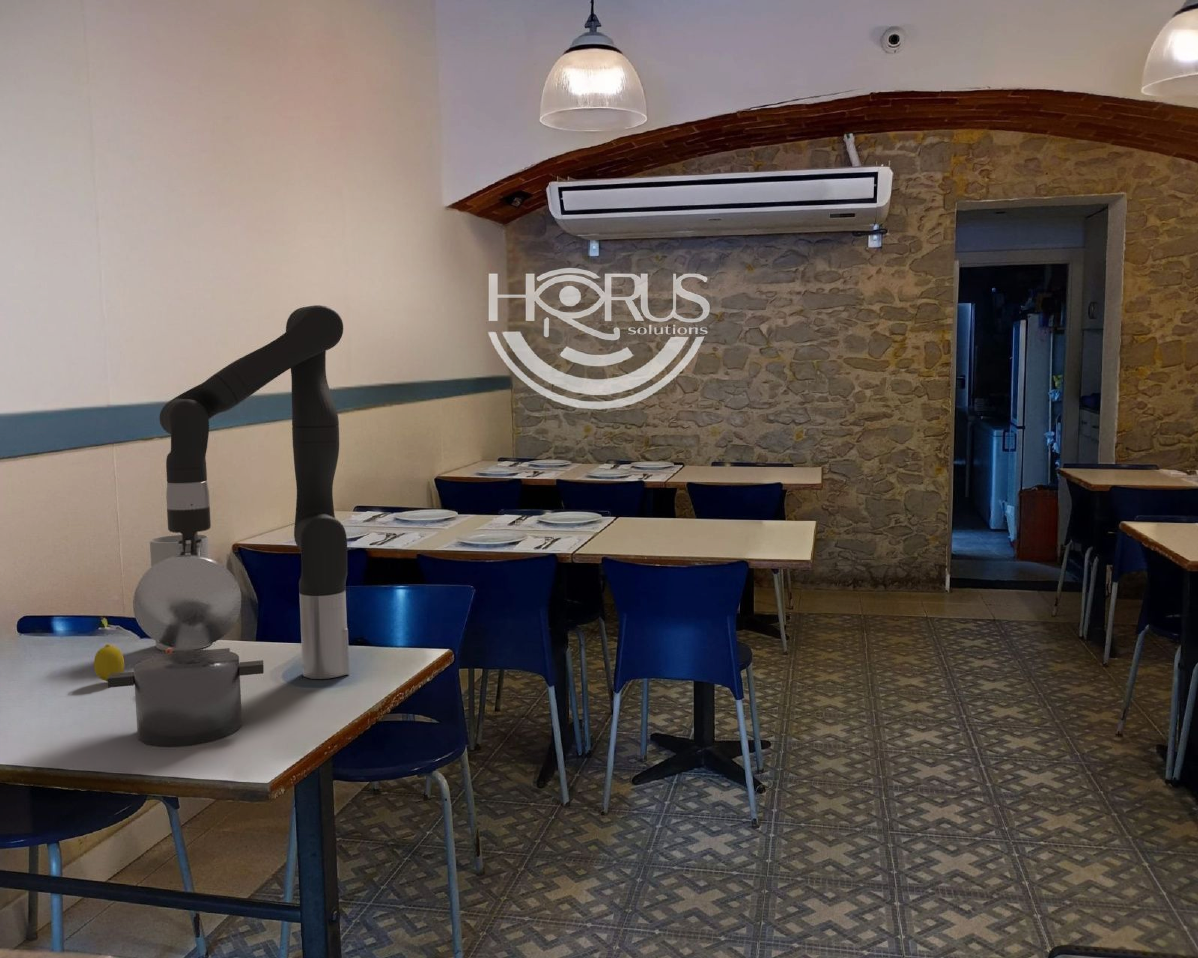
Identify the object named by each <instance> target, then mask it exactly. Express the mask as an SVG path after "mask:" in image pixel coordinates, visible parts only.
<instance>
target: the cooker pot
mask: <svg viewBox="0 0 1198 958" xmlns="http://www.w3.org/2000/svg"><path fill="white" fill-rule="evenodd" d="M230 649H231V648H230V647H226V648H216V649H215V648H214V649H196V650H190V651H181V652H172V653H166V654H164V653H156V654H153V655H152V657H149V658H146V659H144V660H142V661H139V662H137V664H135V665H134V667H133V671H127V672H122V673H113V674H110V675H109V677H108V682H107V688H108V689H110V688H119V687H132V686H134V695H135V712H136V713H135V714H136V715H135V716H136V729H137V731H136V732H137V739H138V741H140V742H141V743H142V744H145V745H148V746H152V747H153V746H154V747H166V748H167V747H168V748H170V747H171V748H172V747H173V748H178V747H188V746H195V745H201V744H206V743H210V742H214V741H218V740H221V739H225V738H226V737H229V736H231V735H233V734H235V733H236V732H238V730H240V729H241V728H242V726H243V715H242V713H243V712H242V711H243V710H242V694H241V693H242V691H241V688H242V687H241V676H252V675H263V674H264V670H265V669H264V667H265V664H264V660H263V659H262V660H253V661H240V656H239V654H237V653H235V652H232V651H231V650H230Z"/></svg>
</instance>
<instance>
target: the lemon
mask: <svg viewBox="0 0 1198 958" xmlns="http://www.w3.org/2000/svg"><path fill="white" fill-rule="evenodd" d="M93 667H94V672H95V674H96V676H97V677H98V678H99V679H101V680H103V681H106V682H107V683H108V677H109V675H110V674H113V673H124V669H125V659H124V655H123V653H122V651H121V650H120V648H118V647H117V646H114V645H111V644H110V643H108V644H106V645H104V646H103V647H101V648H99V650H97V652H96V654H95V656H94V659H93Z"/></svg>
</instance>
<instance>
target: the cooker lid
mask: <svg viewBox="0 0 1198 958" xmlns="http://www.w3.org/2000/svg"><path fill="white" fill-rule="evenodd" d="M241 607H242V593H241V589H240V585H239V583H238V581H237V579H236V577H235V576H234V574H233V573H232V572H231V571H230V570H229V569H228V568H227V567H225V565H224V564H221V563H220V562H218V561H217V560H215V559H212V558H211V557H210V558H207V557H203V556H199V555H179V556H174V557H170V558H167V559H164V560H162V561H160V562H158V563H157V564H155V565H154V566H152V567H150V568H149V569H147V570H146V572H144V573H143V574H142V577H141V578H140V579H139V580H138V583H137V585H136V587H135V591H134V594H133V600H132V608H133V614H134V617H135V620H136V622H137V624H138V626H139V627H140V628H141V630H142V631H143V632H144V633H145V634H146V635H147V636H148V637H150V638H151V639H152V640H154V641H155V642H156V641H157V642H159V643H161V644H163V645H166V646H169V647H174V648H181V649H192V648H199V647H203V646H206V645H209V644H211V645H212V644H213V643H215V642H217V641H219V640H221V639H222V638H223V637H224V636H226V635H227V634H228V633H229V632H230V631H231V630H232V628H233V627H234V626H235V624H236V622H237V621H238V618H239V616H240V613H241ZM209 646H210V645H209Z"/></svg>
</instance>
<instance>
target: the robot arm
mask: <svg viewBox="0 0 1198 958" xmlns="http://www.w3.org/2000/svg"><path fill="white" fill-rule="evenodd" d="M285 324H286V325H285V332H284V333H283V334H281V335H280V336H279V337H277V338H275V339H274V340H272V341H271V342H269V343H267V344H266V345H263V346H261V347H260V348H258V349H255V350H254V351H252V352H250V353H248V354H245V355H244V356H242V357H240V358H238V359H236V360H235V361H232V362H230V363H229V364H228V365H226V366H225V367H223V368H222V369H220V370H218V371H217V372H216V373H214V374H213V375H211V376H210V377H209V378H207V379H206V380H205V381H203V382H202V383H200V384H198V385H195V386H194V387H192V388H190V389H188V390H186V391H184V392H183V393H180V394H178V395H177V396H175V397H173V398H172V399H171V400H169V401H168V402H167V403H165V404H164V405H163V407H162V409H161V410H160V412H159V423H160V426H161V428H162V429H163V430H164V431H165V432H166V433H168V434H170V451H169V452H168V454H167V455H166V460H165V461H166V462H165V467H166V469H165V470H166V497H165V499H166V500H165V501H166V512H167V513H166V515H167V516H166V517H167V530H168V532H170V533H175V534H176V533H177V534H179V533H180V535H182V540H180V542H178V548H179V551H180V555H199V556H201V548H202V539H198V535H199V534H198V532H200V533H201V532H205V531H208V530H210V529H211V528H212V526H211V525H212V524H211V506H210V505H211V503H210V490H209V486H208V471H207V459H206V457H207V452H208V451H207V450H208V445H209V444H208V443H209V433H210V422H209V421H210V419H212V418H213V417H214V416H216V415H219V414H220V413H224V412H227V411H229V410H231V409H233V408H235V407H236V406H238V405H239V404H240V403H242V402H244V401H246V399H248V398H250V397H251V396H252V395H254V394H255V393H256V392H258V391H259V390H260V389H261V388H263V387H265V386H266V385H267V384H269V383H270V382H271V381H274V380H275V379H276V378H278V377H279V376H281V375H282V374H284V373H285V372H287V371H288V370H290V376H291V377H290V379H291V431H292V432H291V434H292V436H291V437H292V439H291V440H292V451H293V465H294V474H295V475H294V477H295V483H296V499H295V501H296V502H295V504H296V505H295V518H294V530H293V536H294V541H295V544H296V546H297V548H298V549H299V550H300V555H301V556H300V557H301V558H300V560H301V562H300V563H301V565H300V567H301V575H300V578H299V581H298V591H299V592H298V593H299V613H300V614H299V615H300V639H301V640H300V641H301V642H300V643H301V645H300V646H301V668H302V676H303V677H305V678H307V679H311V680H323V679H325V680H326V679H332V678H333V679H334V678H338V677H342V676H346V675H348V676H349V675H350V674H351V673H350V659H349V658H350V652H349V649H350V648H349V629H348V622H347V621H348V620H347V596H346V594H347V593H346V589H347V587H346V582H347V578H348V539H347V538H348V537H347V532H346V529H345V527H344V525H343V524H342V522H340V520H338V519H337V518H336V516H335V510H334V509H335V507H334V498H333V495H334V494H333V485H334V480H335V474H336V470H337V466H338V461H339V460H338V459H339V456H340V455H339V454H340V452H339V451H340V426H339V425H340V424H339V423H340V419H339V415H338V410H337V406H336V404H335V401H334V398H333V395H332V392H331V390H330V387H329V383H328V378H327V372H326V371H327V370H326V368H327V367H326V363H327V362H326V361H327V359H326V354H327V351H329V350H331V349H333V348H334V347H336V346H337V344H338V343H340V342H341V339H342V337H343V334H344V323H343V320H342V317H341V315H339V313H338V312H337V311H336V310H335V309H334V308H332V307H329V306H325V305H320V304H318V305H309V306H302V307H299V308H297V309H295V310H294V311H292V312H291V314H290V315H289V316H288V318H287V320H286V323H285Z"/></svg>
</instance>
